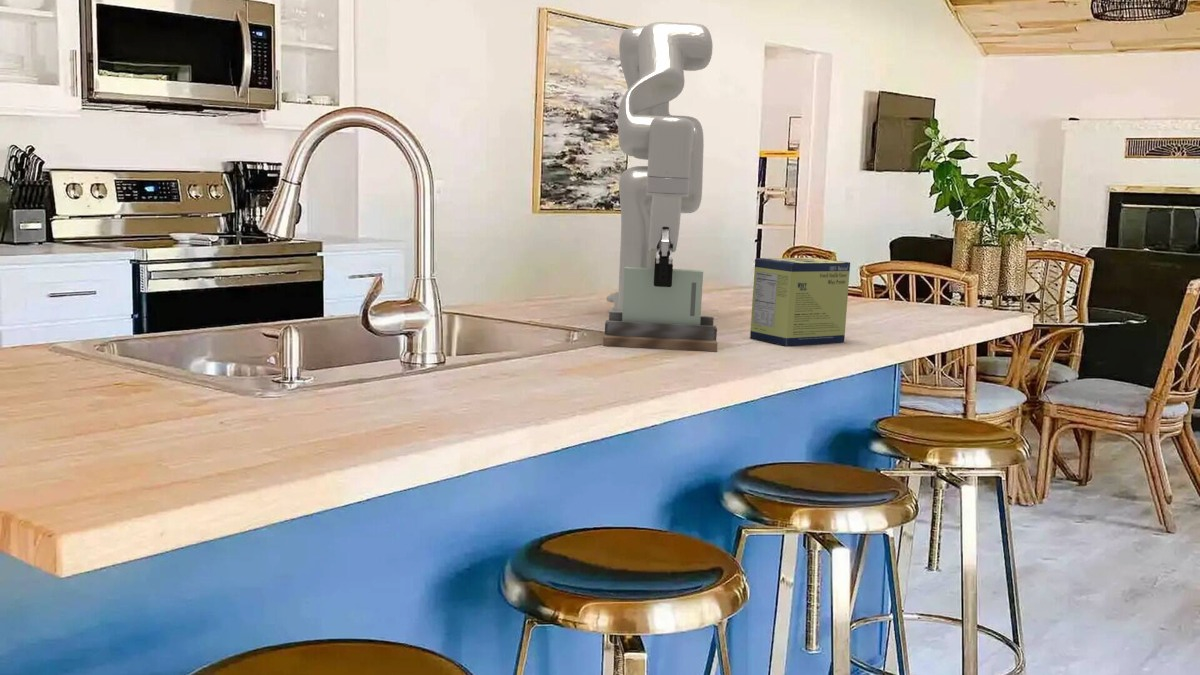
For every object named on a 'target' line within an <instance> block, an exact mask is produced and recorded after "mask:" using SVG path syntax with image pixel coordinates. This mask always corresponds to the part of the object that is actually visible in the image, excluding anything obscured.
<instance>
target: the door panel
mask: <svg viewBox="0 0 1200 675" xmlns="http://www.w3.org/2000/svg"><path fill="white" fill-rule="evenodd" d="M703 279H704V271H703V270H702V269H682V268H681V269H680V268H678V269H677V268H673V273H672V286H671V287H656V286H654V268H641V267H625V269H624V291H623V313H622V321H624V322H644V323H664V324H684V325H700V320H701V316H702V300H703V298H702V296H703V281H704V280H703Z"/></svg>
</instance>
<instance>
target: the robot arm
mask: <svg viewBox="0 0 1200 675" xmlns="http://www.w3.org/2000/svg"><path fill="white" fill-rule="evenodd" d="M618 44H619V48H618V50H619V52H618V53H619V60H620V66H621V69H622V73H623V75H624V79H625V82H626V86H627V91H626V92H625V93H624V94H623V96H622V98H621V100H620V103H619V106H618V112H617V133H618V134H617V138H618V143H619V144H618V145H619V148H620V150H621V151H622V153H623V154H625V155H626V156H629V157H633V158H636V159H638V160H645V161H647V165H637V166H633V167H629V168H627V169H625V170H624V171H623V172H622V173H621V175H620V177H619V181H618V192H619V193H618V194H619V203H620V205H619V206H620V216H621V217H620V220H621V221H620V223H621V224H620V247H619V248H620V251H619V272H618V291H617V292H611V293H610V295H607V296H606V298H605V299H606V302H608V303H614V304H613V307H611V308H610V311H609V312H623V291H624V269H625V267H641V268H654V286H656V287H671V286H672V273H673V269H674V264H673V253H675V252H676V251H677V246H678V241H679V236H680V235H679V234H680V227H681V226H680V225H681V215H682V214H692V213H695V212H696V211H698V210H699V208H700V207H701V203H702V199H703V198H702V196H703V195H702V194H703V180H704V179H703V177H704V176H703V172H704V147H705V146H704V145H705V144H704V142H705V141H704V129H703V126H702V124H701V122H700V121H699V119H697V118H695V117H693V116H689V115H688V116H687V115H672V114H670V109H669V108H670V102H671V101H673V100H674V99H677V97H678V96H679V95H680V94H681V93H682V91H683V90H684V88H685V74H684V71H686V72H691V71H693V72H695V71H696V72H697V71H702V70H703V69H705V68H706V67H708V65H709V64H710V62H711V59H712V55H713V49H714V48H713V45H714V44H713V38H712V35H711V31H710V30H709V28H708V27H707V26H705V25H704V24H700V23H691V22H690V23H688V22H671V21H670V22H669V21H658V22H657V21H655V22H652V23H649V24H647V25H641V26H640V25H638V26H631V27H628V28H626V29H625V30H624V31H622V33H621V34H620V39H619V43H618Z"/></svg>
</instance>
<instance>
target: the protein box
mask: <svg viewBox="0 0 1200 675" xmlns="http://www.w3.org/2000/svg"><path fill="white" fill-rule="evenodd" d="M850 268H851V262H848V261H840V260H834V259H826V258H818V257H817V258H816V257H758V258H757V257H755V259H754V269H753V270H754V271H753V285H752V286H753V287H752V302H751V305H752V306H751V318H750V320H751V322H750V333H749V334H750V335H749V339H751V340H752V339H753V340H755V339H756V341H760V342H767V343H771V344H774V345H775V344H776V345H781V346H785V347H792V346H794V347H795V346H809V345H810V346H811V345H825V344H840V343H841V344H843V343H845V336H846V324H847V323H846V322H847V309H848V295H849V284H850V271H851V270H850Z"/></svg>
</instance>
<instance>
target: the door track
mask: <svg viewBox="0 0 1200 675" xmlns="http://www.w3.org/2000/svg"><path fill="white" fill-rule="evenodd" d="M622 313H623V312H610V311H609V312H608V320H606V321H605V323H604V335H603V342H602V345H603V347H617V348H618V347H619V348H637V349H639V348H640V349H641V348H642V349H654V350H655V349H659V350H678V351H679V350H681V351H695V352H697V351H699V352H714V353H715V352H716V353H717V351H718V342H717V337H718V336H717V332H718V328H717V325H714V318H715V317H714V316H703V315H701V320H700V325H684V324H664V323H644V322H624V321H622Z"/></svg>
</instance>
